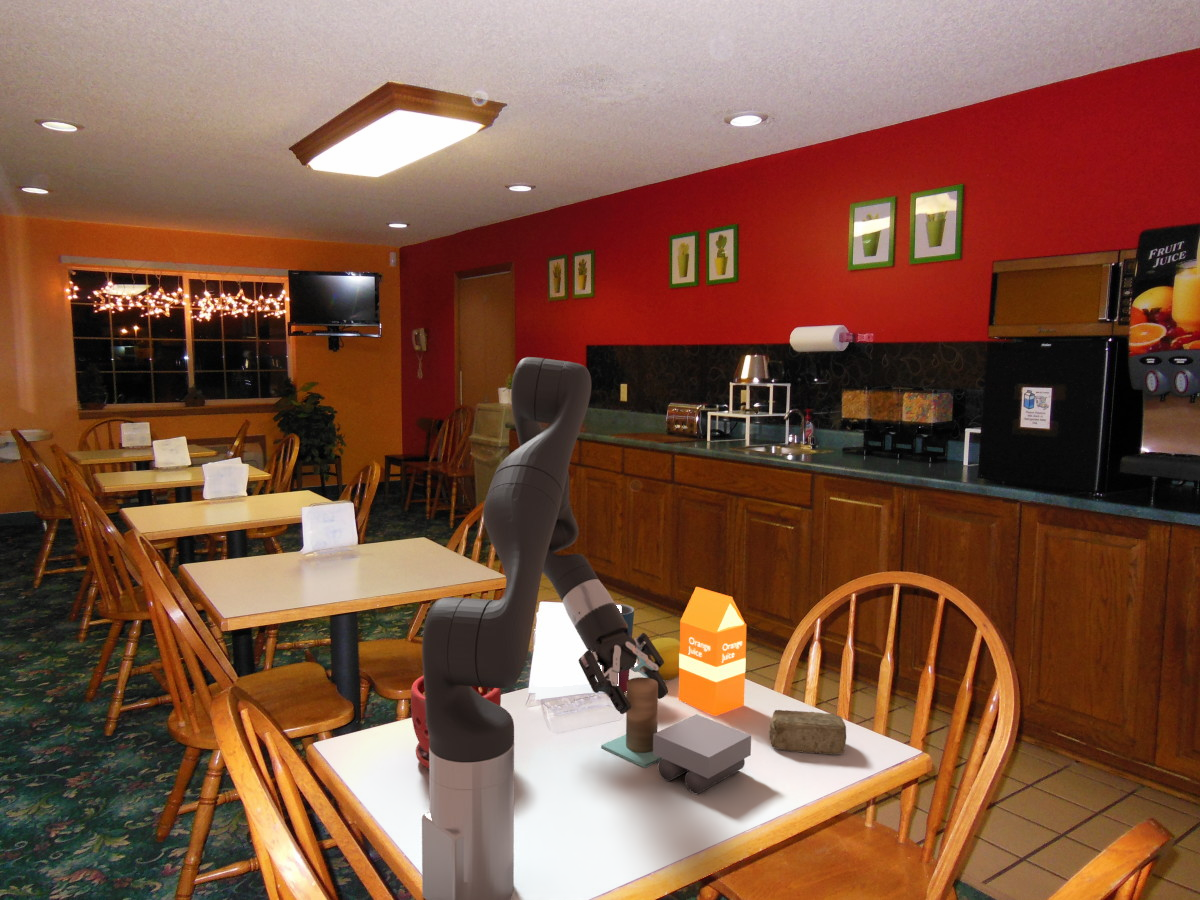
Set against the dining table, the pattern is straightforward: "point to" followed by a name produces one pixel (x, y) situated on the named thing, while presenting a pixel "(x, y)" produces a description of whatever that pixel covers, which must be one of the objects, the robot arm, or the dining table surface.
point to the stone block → (807, 732)
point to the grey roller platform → (700, 751)
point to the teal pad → (630, 752)
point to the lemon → (668, 657)
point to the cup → (628, 617)
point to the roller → (641, 714)
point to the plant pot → (420, 715)
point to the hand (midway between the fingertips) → (645, 703)
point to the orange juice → (712, 653)
